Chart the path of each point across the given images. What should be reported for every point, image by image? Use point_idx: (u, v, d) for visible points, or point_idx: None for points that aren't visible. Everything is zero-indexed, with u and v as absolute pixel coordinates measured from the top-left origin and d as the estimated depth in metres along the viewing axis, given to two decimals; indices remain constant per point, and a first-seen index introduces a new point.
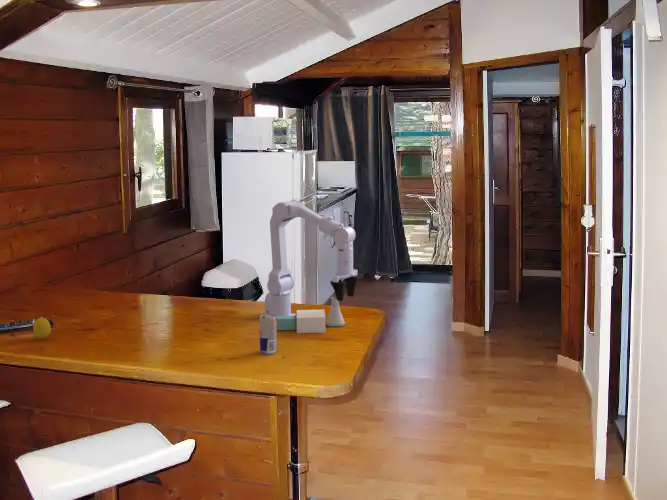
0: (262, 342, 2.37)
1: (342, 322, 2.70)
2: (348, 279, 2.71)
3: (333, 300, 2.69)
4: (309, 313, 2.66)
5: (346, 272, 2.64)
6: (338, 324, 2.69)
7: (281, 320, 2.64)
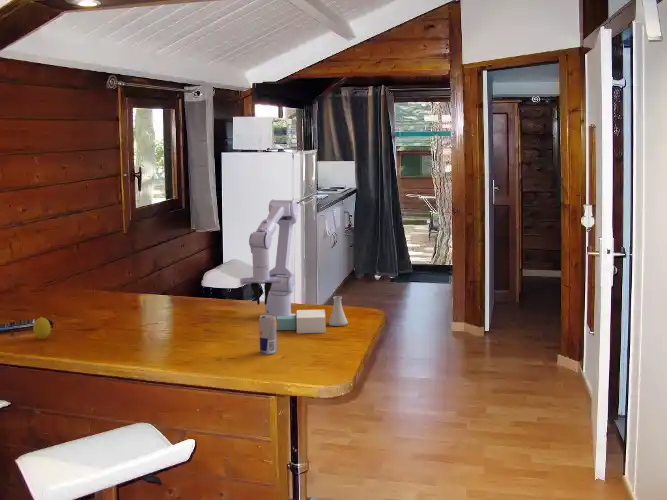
0: (262, 342, 2.37)
1: (345, 321, 2.71)
2: None
3: (336, 300, 2.70)
4: (309, 313, 2.66)
5: (254, 277, 2.61)
6: (342, 323, 2.69)
7: (281, 320, 2.64)
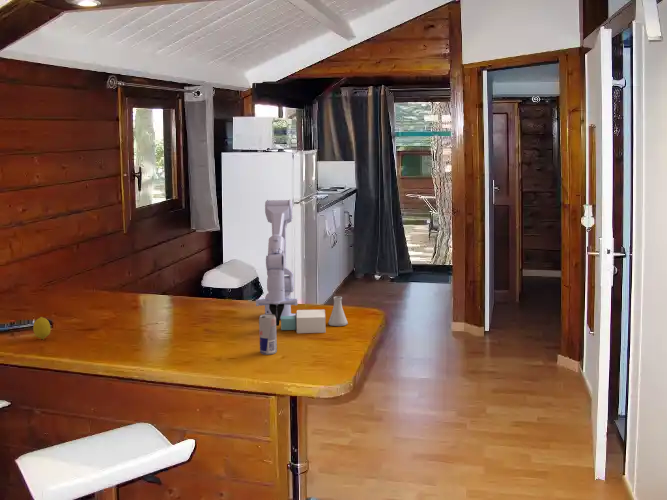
0: (262, 342, 2.37)
1: (345, 321, 2.71)
2: (277, 307, 2.66)
3: (336, 300, 2.70)
4: (309, 313, 2.66)
5: (270, 298, 2.63)
6: (342, 323, 2.69)
7: (285, 320, 2.64)
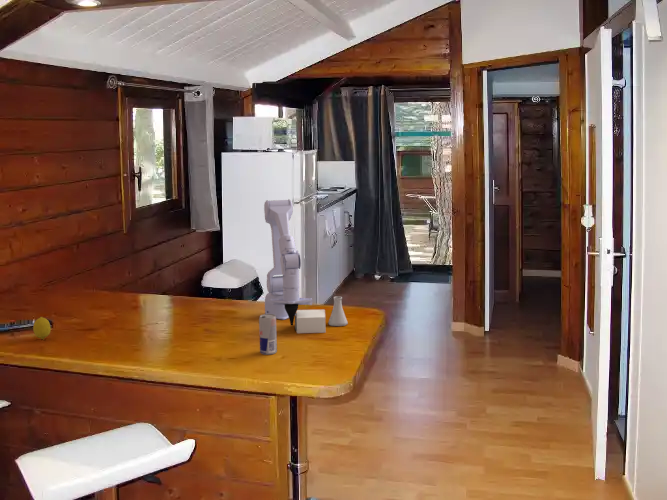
0: (262, 342, 2.37)
1: (345, 321, 2.71)
2: None
3: (336, 300, 2.70)
4: (309, 313, 2.66)
5: (284, 298, 2.63)
6: (342, 323, 2.69)
7: None
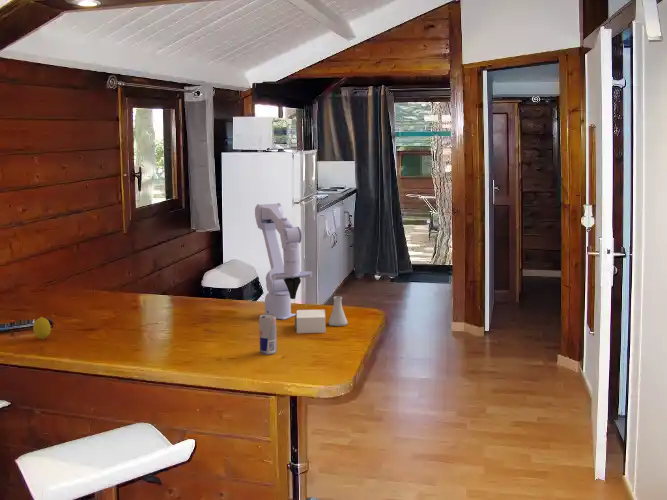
0: (262, 342, 2.37)
1: (345, 321, 2.71)
2: None
3: (336, 300, 2.70)
4: (309, 313, 2.66)
5: (287, 272, 2.67)
6: (342, 323, 2.69)
7: None
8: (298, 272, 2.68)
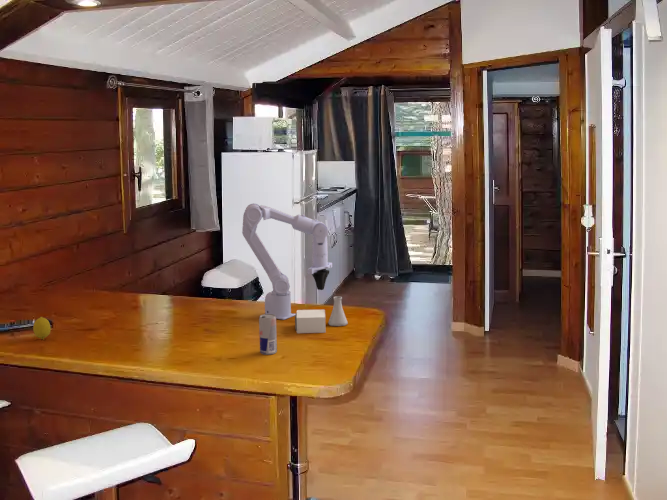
0: (262, 342, 2.37)
1: (345, 321, 2.71)
2: None
3: (336, 300, 2.70)
4: (309, 313, 2.66)
5: (321, 264, 2.80)
6: (342, 323, 2.69)
7: None
8: (327, 263, 2.83)
